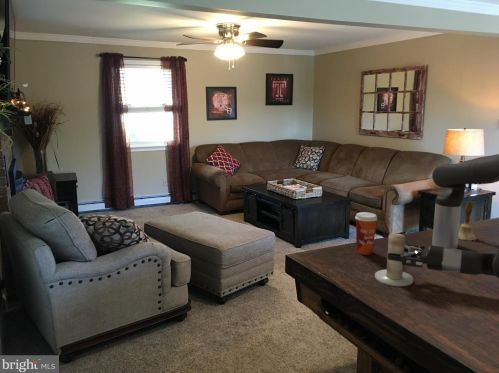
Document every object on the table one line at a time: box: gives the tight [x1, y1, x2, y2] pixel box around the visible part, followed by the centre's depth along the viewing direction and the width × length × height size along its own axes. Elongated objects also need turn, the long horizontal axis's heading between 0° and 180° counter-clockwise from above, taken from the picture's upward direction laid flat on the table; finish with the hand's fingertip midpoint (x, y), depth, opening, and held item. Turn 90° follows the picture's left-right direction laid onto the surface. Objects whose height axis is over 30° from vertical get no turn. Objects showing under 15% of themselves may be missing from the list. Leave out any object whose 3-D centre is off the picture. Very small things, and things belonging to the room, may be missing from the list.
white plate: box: [374, 269, 414, 287], centre depth 138 cm, size 12×12×1 cm
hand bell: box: [458, 200, 477, 242], centre depth 177 cm, size 8×8×16 cm
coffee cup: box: [354, 211, 378, 256], centre depth 160 cm, size 8×8×15 cm
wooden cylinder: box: [386, 233, 406, 280], centre depth 136 cm, size 5×5×14 cm
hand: (389, 251), depth 137 cm, fingers open, 8 cm apart
